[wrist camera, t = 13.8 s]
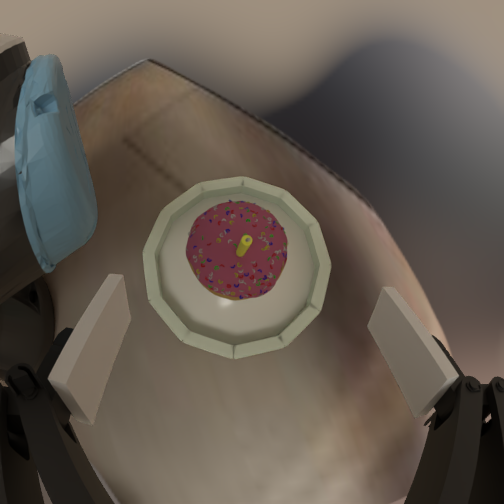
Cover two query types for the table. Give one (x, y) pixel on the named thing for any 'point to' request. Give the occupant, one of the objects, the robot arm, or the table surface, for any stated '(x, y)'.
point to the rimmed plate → (240, 311)
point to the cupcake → (237, 250)
